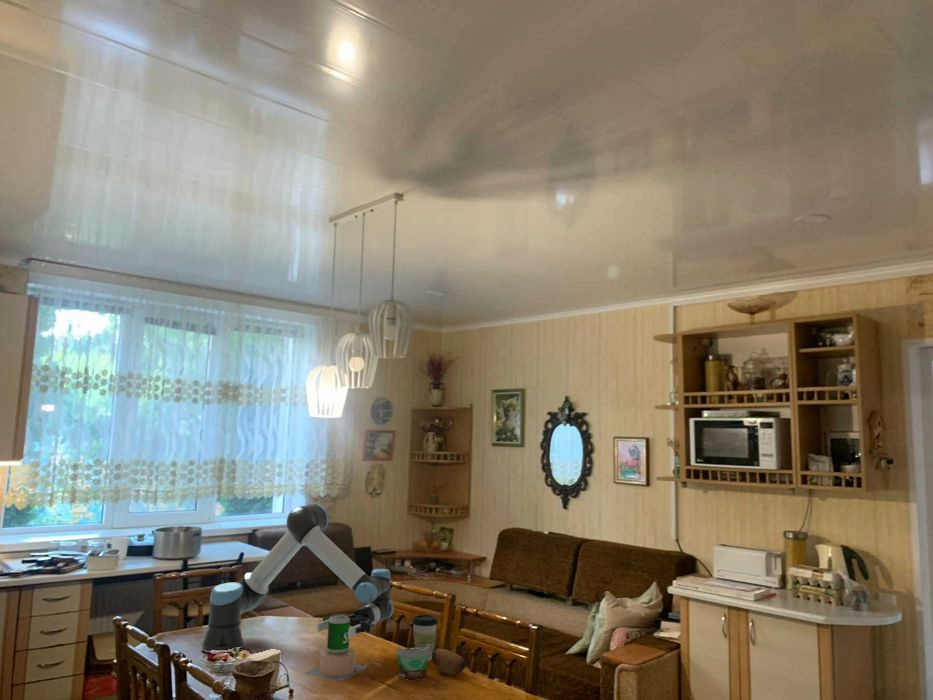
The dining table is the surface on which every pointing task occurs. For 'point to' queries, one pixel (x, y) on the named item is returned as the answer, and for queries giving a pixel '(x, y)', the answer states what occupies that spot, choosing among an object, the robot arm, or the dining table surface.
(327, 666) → the beige hollow cylinder
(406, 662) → the food container
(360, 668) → the rubber mat
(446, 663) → the potato
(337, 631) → the soda can
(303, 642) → the dining table surface
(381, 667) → the dining table surface
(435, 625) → the coffee cup
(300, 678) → the dining table surface
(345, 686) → the dining table surface
